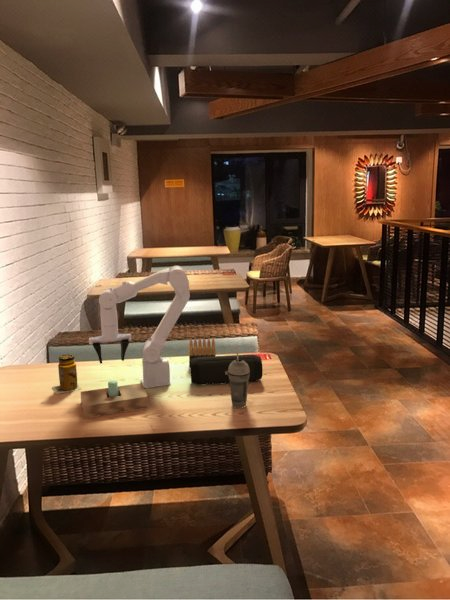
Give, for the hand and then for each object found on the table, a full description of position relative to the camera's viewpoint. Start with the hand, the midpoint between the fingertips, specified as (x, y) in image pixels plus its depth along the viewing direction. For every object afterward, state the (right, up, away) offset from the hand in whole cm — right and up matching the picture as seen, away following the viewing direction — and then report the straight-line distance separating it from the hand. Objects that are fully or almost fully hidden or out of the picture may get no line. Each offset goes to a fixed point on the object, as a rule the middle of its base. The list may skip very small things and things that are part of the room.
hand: (111, 361), depth 177 cm
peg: (+4, -13, -14) cm, 19 cm away
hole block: (+4, -13, -14) cm, 20 cm away
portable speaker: (+41, -9, +5) cm, 42 cm away
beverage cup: (+45, -13, -15) cm, 49 cm away
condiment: (-16, -10, 0) cm, 19 cm away
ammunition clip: (+31, -5, +21) cm, 38 cm away
